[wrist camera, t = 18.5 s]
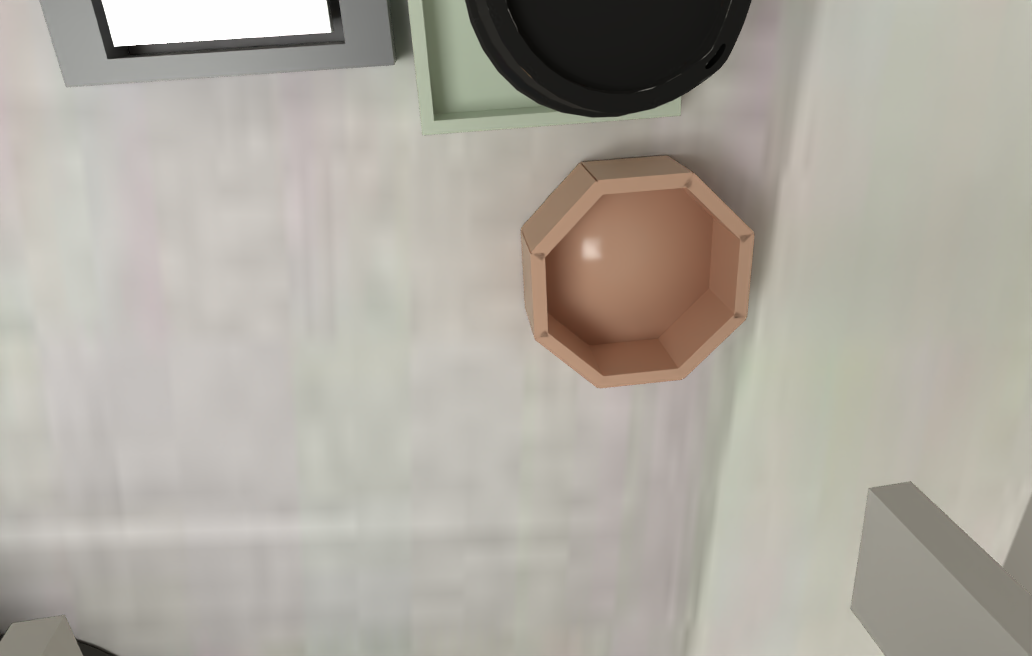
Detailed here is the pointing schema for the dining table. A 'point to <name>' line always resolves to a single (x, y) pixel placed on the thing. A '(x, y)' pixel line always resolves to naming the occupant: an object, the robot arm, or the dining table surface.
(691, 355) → the bin
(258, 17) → the plate
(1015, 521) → the dining table surface
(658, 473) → the dining table surface
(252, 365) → the dining table surface
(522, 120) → the green square tray
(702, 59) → the coffee cup
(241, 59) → the frame
